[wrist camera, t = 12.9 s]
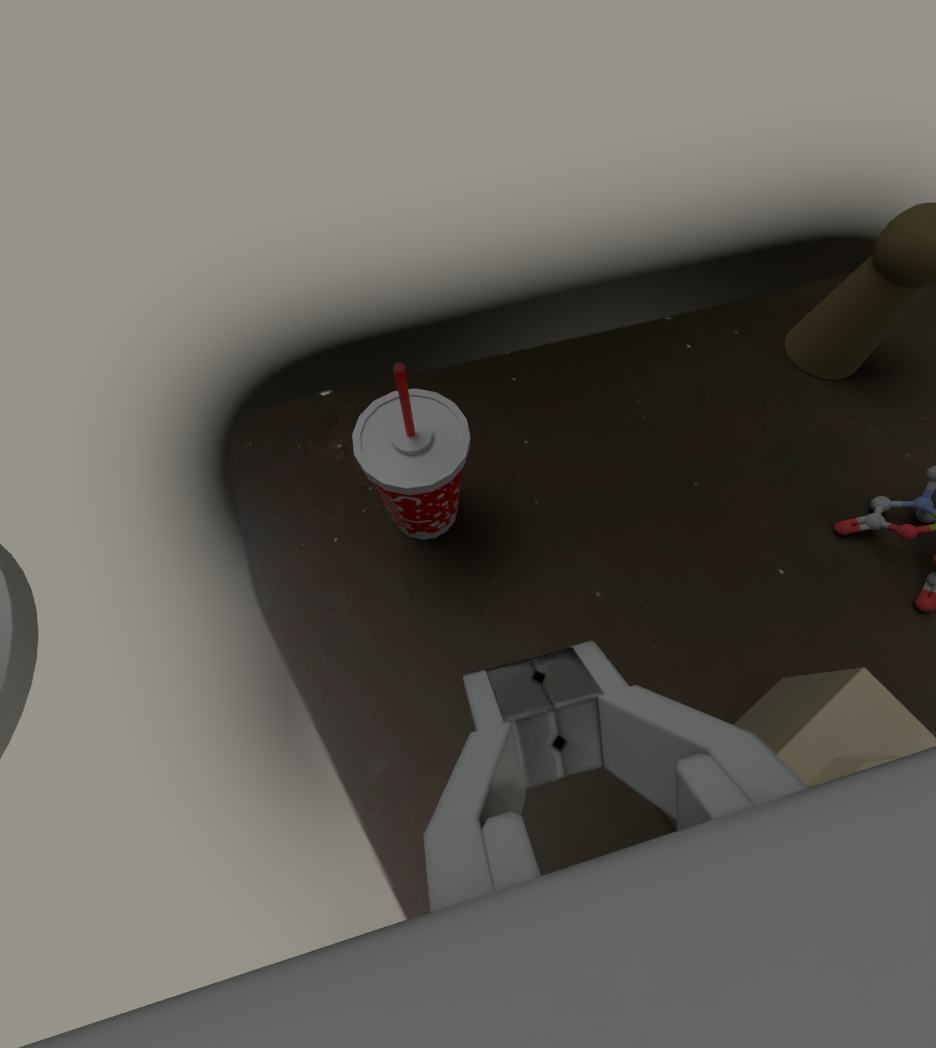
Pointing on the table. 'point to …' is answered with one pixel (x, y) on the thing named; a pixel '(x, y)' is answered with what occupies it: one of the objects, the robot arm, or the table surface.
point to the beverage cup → (414, 456)
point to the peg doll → (868, 299)
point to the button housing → (833, 725)
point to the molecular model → (903, 530)
